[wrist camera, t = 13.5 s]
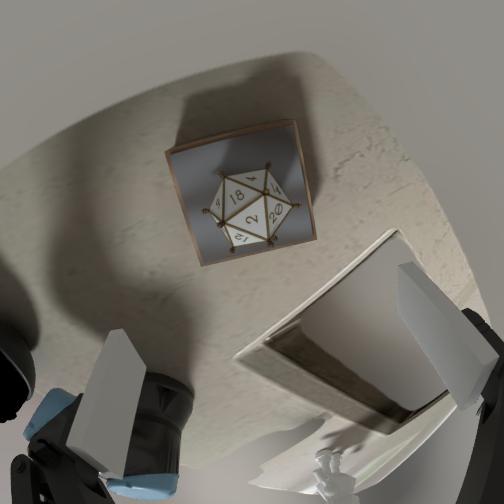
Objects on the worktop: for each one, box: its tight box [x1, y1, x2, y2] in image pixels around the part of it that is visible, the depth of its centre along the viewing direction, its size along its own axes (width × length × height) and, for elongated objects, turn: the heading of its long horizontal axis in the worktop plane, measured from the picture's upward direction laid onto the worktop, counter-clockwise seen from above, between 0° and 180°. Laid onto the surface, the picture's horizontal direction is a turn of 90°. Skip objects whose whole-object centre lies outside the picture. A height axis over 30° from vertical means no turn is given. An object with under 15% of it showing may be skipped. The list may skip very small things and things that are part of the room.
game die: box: [200, 160, 302, 255], centre depth 28 cm, size 9×8×10 cm
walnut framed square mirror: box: [165, 119, 317, 267], centre depth 34 cm, size 14×14×6 cm
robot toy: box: [313, 449, 360, 504], centre depth 61 cm, size 22×12×25 cm, turn 42°
